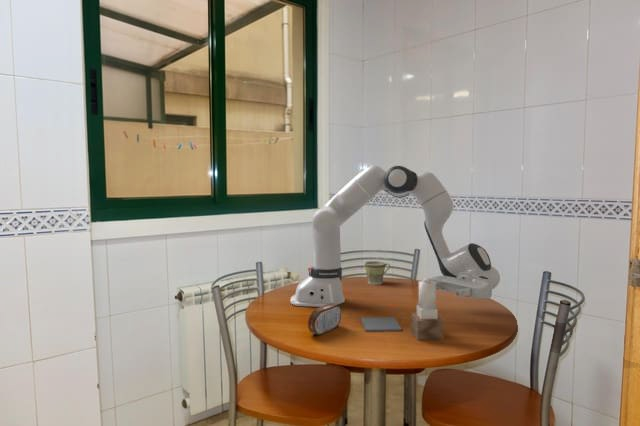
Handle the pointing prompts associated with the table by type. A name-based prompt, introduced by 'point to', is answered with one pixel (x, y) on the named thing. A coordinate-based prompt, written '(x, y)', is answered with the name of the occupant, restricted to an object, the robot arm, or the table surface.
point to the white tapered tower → (427, 300)
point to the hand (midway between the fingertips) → (445, 290)
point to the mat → (381, 324)
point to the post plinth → (426, 328)
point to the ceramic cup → (375, 271)
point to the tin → (324, 319)
